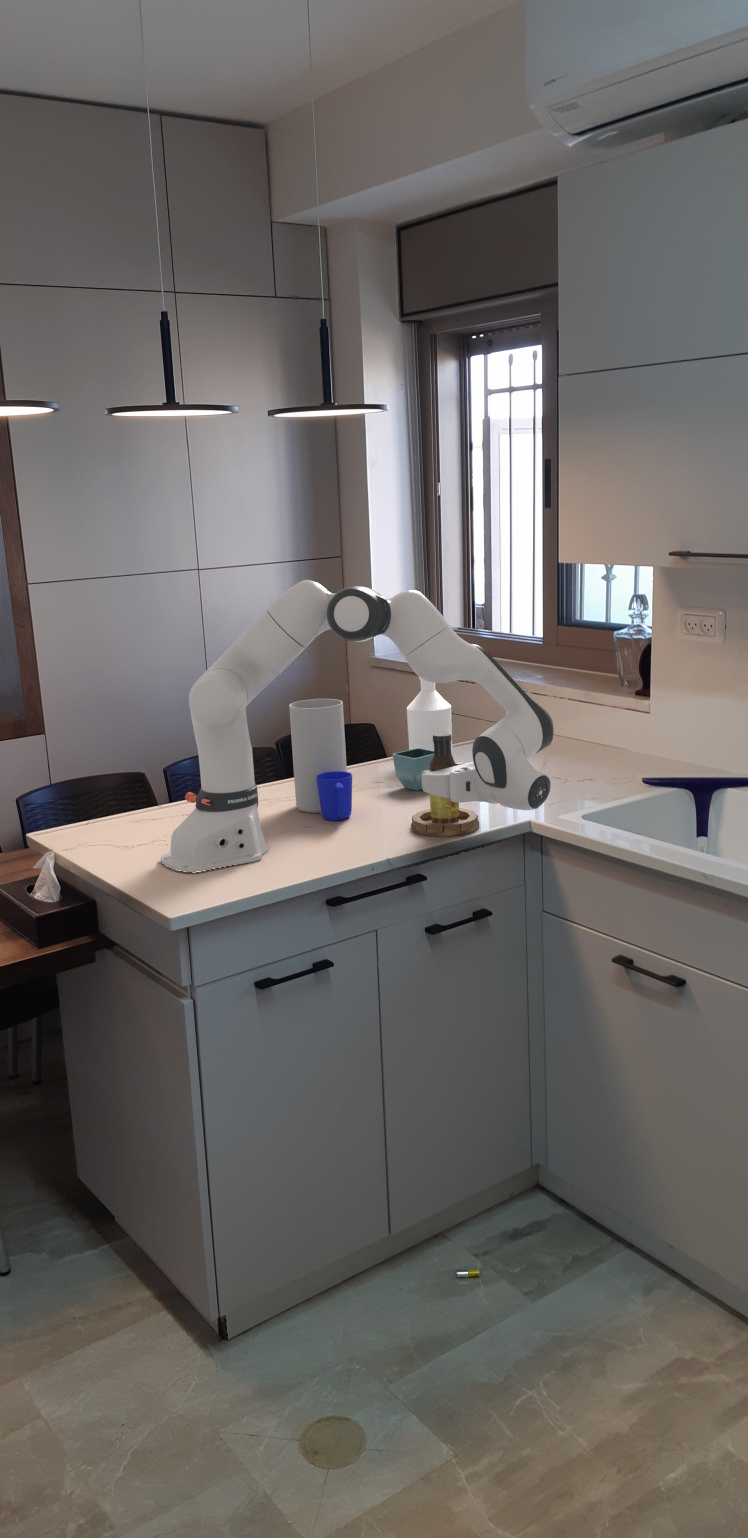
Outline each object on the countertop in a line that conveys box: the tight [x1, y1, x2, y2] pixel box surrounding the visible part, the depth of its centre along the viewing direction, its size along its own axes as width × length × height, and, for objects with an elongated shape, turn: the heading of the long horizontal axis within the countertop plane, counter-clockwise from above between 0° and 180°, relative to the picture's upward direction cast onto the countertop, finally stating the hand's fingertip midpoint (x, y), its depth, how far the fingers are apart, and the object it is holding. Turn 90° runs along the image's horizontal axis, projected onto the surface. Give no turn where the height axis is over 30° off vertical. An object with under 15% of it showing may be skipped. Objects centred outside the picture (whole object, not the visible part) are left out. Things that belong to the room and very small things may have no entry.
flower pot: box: [391, 748, 434, 791], centre depth 288 cm, size 9×9×9 cm
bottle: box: [406, 676, 453, 755], centre depth 309 cm, size 12×12×25 cm
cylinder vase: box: [288, 698, 348, 814], centre depth 273 cm, size 12×12×25 cm
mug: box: [316, 771, 353, 821], centre depth 263 cm, size 8×12×10 cm
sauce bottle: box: [429, 733, 460, 824], centre depth 252 cm, size 7×6×20 cm
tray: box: [410, 807, 480, 838], centre depth 254 cm, size 15×15×2 cm
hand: (440, 770), depth 252 cm, fingers open, 8 cm apart
